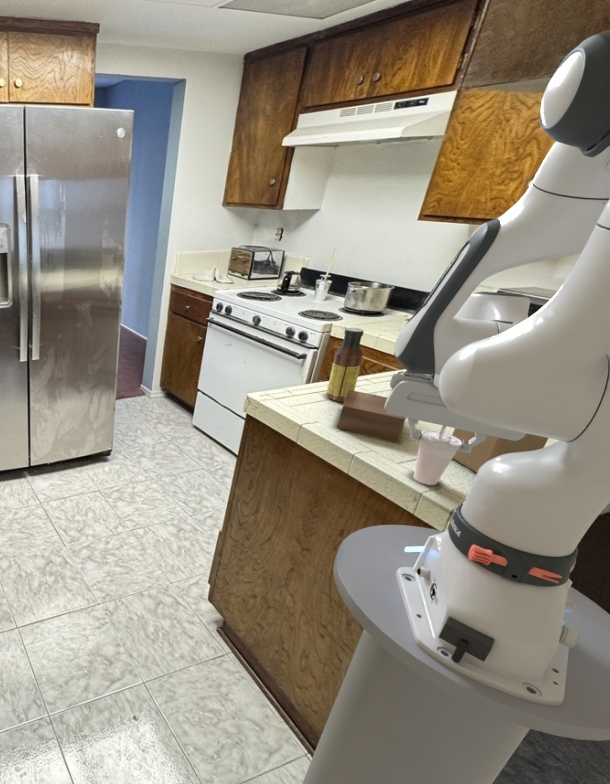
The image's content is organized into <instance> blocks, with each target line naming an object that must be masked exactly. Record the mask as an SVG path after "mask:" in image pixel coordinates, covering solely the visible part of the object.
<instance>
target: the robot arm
mask: <svg viewBox="0 0 610 784" xmlns="http://www.w3.org/2000/svg"><path fill="white" fill-rule="evenodd" d="M547 83H548V84H547V86H546V87H545V90H544V92H543V96H542V99H541V104H540V111H539V126H540V128H541V130H542V131H543V133H545V134H546V135H547V136H548V137H549V138H550V139H551V140H552V141H554V143H553V144H552V145H551V148H550V149H549V151H548V152H547V154H546V156H545V157H544V159H543V161H542V163H541V164H540V166H539V168H538V170H537V172H536V174H535V176H534V178H533V180H532V181H531V183H530V185H529V187H528V189H527V190H526V192H524V194H523V195H522V196H521V197H520V199H519V200H518V201H517V202H516V203H515V204H514V205H513V206H511V208H509V209H508V210H507V211H505V212H504V213H503V214H501V215H500V216H498V217H497V218H494V219H492V220H489V221H486V222H484V223H482V224H481V225H480V226H478V227H477V228H476V229H475V231H474V232H473V233H472V234H471V235H470V236H469V238H468V239H466V241H465V242H464V244H463V245H462V246H461V248H460V249H459V250H458V252H457V254H456V255H455V256H454V258H453V259H452V260H451V262H450V263H449V264H448V265H447V268H446V269H445V270H444V272H443V274H441V276H440V278H439V280H438V281H436V282H437V283H436V284H435V285H434V286H433V288H432V289H431V291H430V292H429V294H428V295H427V297H426V298H425V300H424V301H423V302H422V304H421V305H420V307H419V308H418V310H417V311H416V312H414V314H413V315H412V317H410V318H409V320H408V321H406V323H405V325H404V326H403V327H402V329H401V330H400V331H399V333H398V336H396V337H397V338H396V340H395V345H394V352H393V353H394V355H393V357H394V358H395V360H396V361H397V362H398V363H399V364H400V365H401V366H402V367H403V368H404V370H400V371H397V372H395V373H393V375H391V379H390V382H389V386H390V391H389V393H388V396H387V400H386V403H385V406H384V409H385V410H386V412H387V413H388V414H391V415H396V416H401V417H405V419H408V421H407V423H408V427H409V429H410V434H409V440H412V441H418V442H420V437H421V434H422V432H423V431H422V429H417V426H416V425H418V423H419V421H420V422H424V423H430V424H433V425H438V426H446V428H452V429H455V428H457V429H461V430H466V431H470V432H475V437H473V438H472V439H470V440H469V441H467V440H463V441H462V447H461V449H460V451H463V452H467V453H471V451H472V448H473V446H475V445H477V444H479V443H481V442H482V441H484V440H485V439H486V437H487V435H489V436H494V437H498V438H503V439H508V440H512V441H517V440H520V439H522V438H524V437H525V435H526V434H531V435H536V436H541V437H546V438H548V439H551V440H556V442H554V443H552V444H550V445H548V446H544V448H542V449H538V450H533V451H526V452H515V453H508V454H503V455H500V456H497V457H495V458H493V459H491V460H489V461H487V462H486V463H485V464H483V465H482V466H481V467H480V468H479V470H478V472H477V473H476V475H475V477H474V479H473V481H472V483H471V485H470V488H469V490H468V492H467V494H466V497H465V499H464V501H463V503H460V504H459V505H458V506H457V508H456V509H455V511H454V512H453V513H452V515H451V517H450V520H449V523H448V526H447V530H445V531H443V532H442V533H440V534H436V535H433V536H430V537H429V538H428V540H427V542H426V543H425V545H424V547H406V548H405V550H404V551H405V552H421V553H420V555H419V557H418V559H417V561H416V563H415V565H414V567H401V568H399V569H398V570H397V572H396V578H397V582H398V585H399V589H400V592H401V596H402V599H403V602H404V606H405V609H406V613H407V616H408V620H409V623H410V627H411V630H412V634H413V637H414V640H415V642H416V644H417V645H418V646H419V647H420V648H421V649H423V650H424V651H425V652H426V653H428V654H429V655H431V656H432V657H433V658H435V659H436V660H438V661H440V662H441V663H443V664H444V665H446V666H448V667H450V668H452V669H453V670H455V671H457V672H459V673H461V674H463V675H465V676H467V677H469V678H471V679H473V680H475V681H478V682H480V683H482V684H484V685H486V686H489V687H491V688H494V689H496V690H498V691H501V692H503V693H506V694H509V695H511V696H514V697H517V698H520V699H523V700H526V701H529V702H533V703H537V704H542V705H548V706H561V705H562V702H563V700H564V695H565V685H566V674H567V663H568V653H569V648H574V647H575V646H576V644H577V643H578V640H579V637H580V633H579V632H578V631H577V630H574V629H572V628H570V627H567V626H565V621H563V618H564V612H567V613H570V614H573V613H574V611H575V609H576V605H575V604H573V603H571V602H569V601H566V600H567V594H568V589H569V587H570V586H571V587H572V584H573V581H572V580H571V579H570V576H571V573H572V572H573V570H574V568H575V565H576V563H577V556H578V555H579V548H578V545H579V543H580V542H581V540H582V539H583V537H584V536H585V534H586V533H587V531H588V530H589V529H590V527H591V526H592V525H593V523H594V522H595V520H596V519H597V518H598V517H599V515H600V514H601V513H602V512H603V511H604V510H605V508H606V507H607V506H608V505H609V504H610V29H607V30H604V31H601V32H598V33H596V34H593V35H591V36H589V37H587V38H585V39H584V40H583V41H582V42H580V43H579V44H578V45H577V46H576V47H575V48H573V49H572V50H571V51H570V52H568V54H567V55H566V56H565V57H564V59H563V60H562V61H561V63H560V64H559V65H558V67H557V69H556V70H555V72H554V73H553V75H552V77H551V78H550V80H549V82H547ZM576 255H579V257H578V258H577V260H576V262H575V263H574V265H573V267H572V268H571V269H570V272H569V273H568V275H567V276H566V278H565V280H564V281H563V283H562V284H561V286H560V287H559V289H558V290H557V291H556V292H555V294H554V295H553V296H552V297H551V298H550V299H549V300H548V301H547V302H546V303H545V304H544V305H542V306H541V307H540V308H539V309H538V310H537V311H536V312H535V313H533V314H531V315H530V316H529V310H530V305H531V300H530V298H529V297H527V296H526V295H524V294H520V293H512V292H511V293H510V292H499V291H497V292H495V291H494V292H493V291H476V292H474V291H475V290H476V289H477V288H478V287H479V285H480V284H481V283H482V282H484V281H485V280H486V279H488V278H489V277H491V276H493V275H496V274H499V273H501V272H504V271H506V270H510V269H513V268H517V267H521V266H526V265H530V264H534V263H540V262H544V261H545V262H546V261H551V260H557V259H563V258H567V257H572V256H576Z"/></svg>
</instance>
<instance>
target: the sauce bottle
mask: <svg viewBox="0 0 610 784" xmlns="http://www.w3.org/2000/svg"><path fill="white" fill-rule="evenodd" d="M364 331H365V330H364V329H362V328H358V327H346V328H345V330H344V337H343V341H342V345H341V346H339V347H338V348H337V350H335V352H334V357H333V358H334V359H333V362H332V365H331V370H330V374H329V379H328V384H327V387H326V397H327V398H328V399H329V400H331V401H335V402H340V403H344V402H345V399H346V396H347V393H348V390H352V391H356V386H357V383H358V382H357V381H358V377H359V373H360V369H361V365H362V358H363V353H362V351H361V350H362V349H361V347H360V346H361V340H362V337H363V336H364Z"/></svg>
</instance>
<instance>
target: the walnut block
mask: <svg viewBox="0 0 610 784" xmlns="http://www.w3.org/2000/svg"><path fill="white" fill-rule="evenodd" d="M387 398H388V396H382V395H378V394H377V395H376V394H372V393H367V392H362V391H357V390H354V391H352V390H348V393H347V396H346V399H345V402H343V405H342V408H341V411H340V415H339V419H338V422H337V424H336V428H337V429H341V430H345V431H348V432H353V433H357V434H360V435H365V436H369V437H373V438H378V439H382V440H386V441H389V442H395V443H398V440H399V438H400V435H401V433H402V430H403V427H404V424H405V421H406V418H405V417H401V416H396V415H391V414H388V413H387V412H386V410H385V409H384V406H385V403H386V400H387Z"/></svg>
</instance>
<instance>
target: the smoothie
mask: <svg viewBox="0 0 610 784" xmlns="http://www.w3.org/2000/svg"><path fill="white" fill-rule="evenodd" d="M446 429H447V426H443V425H441V428H440V431H437V430H424V431H422V432H421V433H422V434H421V437H420V439H419V445H418V451H417V457H416V462H415V467H414V472H413V479H414V481H416V482H418V483H421V484H423V485H426V486H435V485H438V484H437V483H438V482H439V481H440V479H441V477H442V476H443V474H444V473H445V471H446V470H447V468H448V467H449V465H450V463H451V461H452V460H453V457H454V455H455V454H456V452H457V451H458V450H460V449H461V447H462V441H461V440H459V439H458V438H456V437H454V436H452V434H449V433H445V431H446Z"/></svg>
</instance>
